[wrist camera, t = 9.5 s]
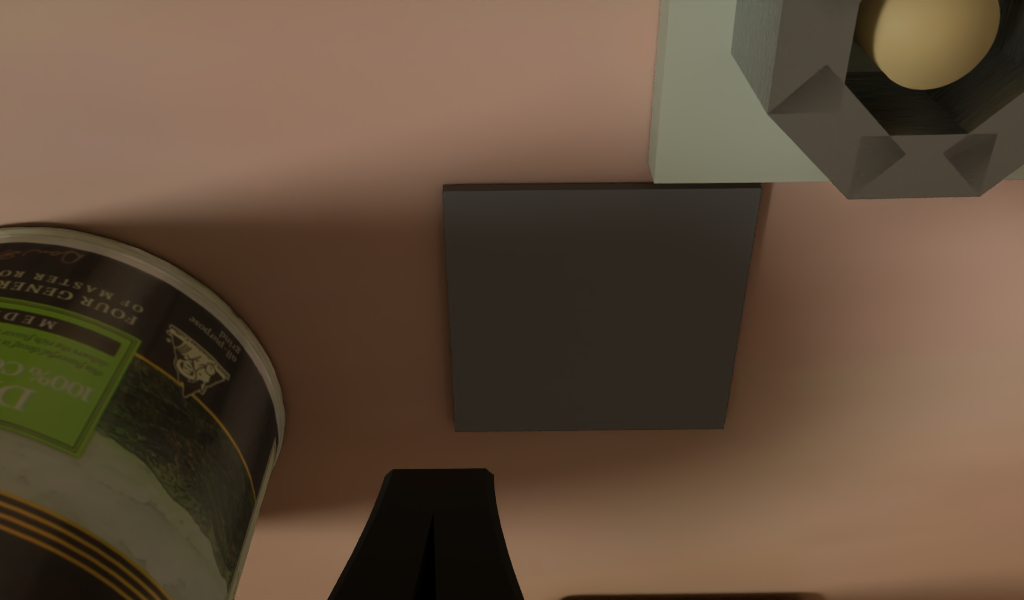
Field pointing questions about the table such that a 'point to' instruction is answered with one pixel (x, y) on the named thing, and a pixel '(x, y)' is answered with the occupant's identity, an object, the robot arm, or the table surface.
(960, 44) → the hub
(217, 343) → the coffee can
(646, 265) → the mat
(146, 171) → the table surface
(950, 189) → the ring
